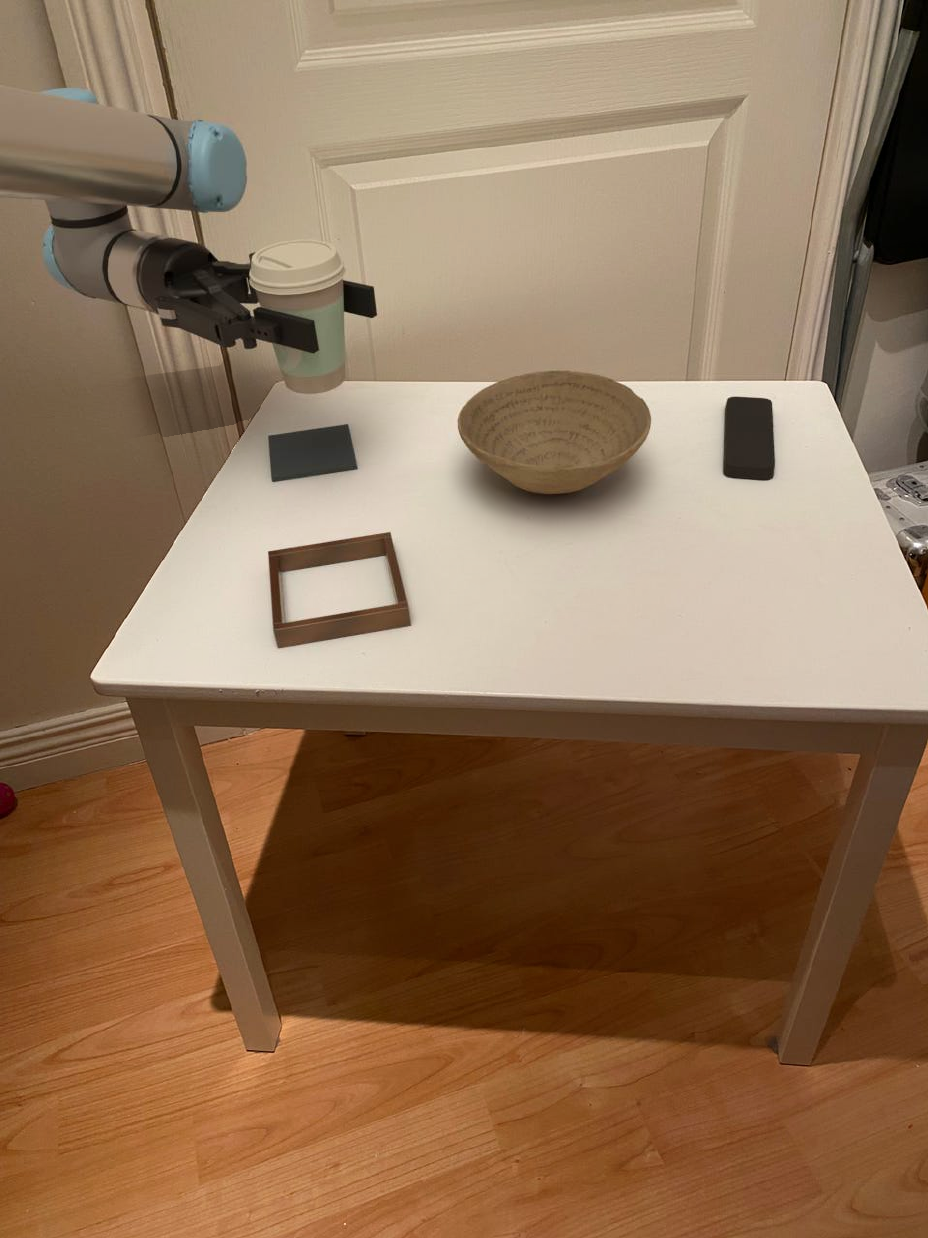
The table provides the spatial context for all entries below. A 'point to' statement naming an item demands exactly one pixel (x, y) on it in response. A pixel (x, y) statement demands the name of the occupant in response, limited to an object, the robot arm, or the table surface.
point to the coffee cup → (305, 308)
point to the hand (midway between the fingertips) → (344, 319)
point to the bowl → (554, 429)
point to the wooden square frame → (344, 621)
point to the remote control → (749, 438)
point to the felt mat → (311, 452)
